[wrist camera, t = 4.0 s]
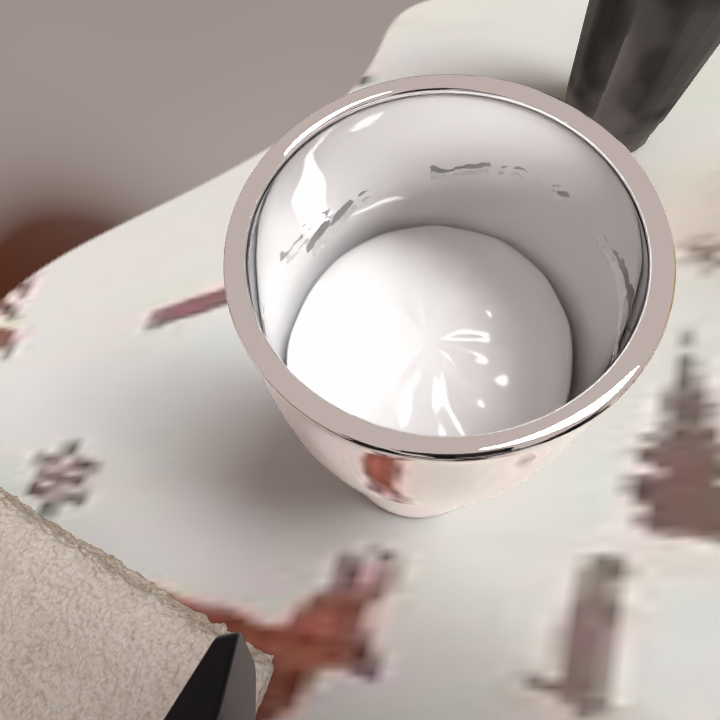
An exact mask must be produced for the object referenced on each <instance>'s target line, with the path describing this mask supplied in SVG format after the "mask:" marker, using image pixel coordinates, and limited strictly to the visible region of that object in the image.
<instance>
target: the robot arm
mask: <svg viewBox="0 0 720 720" xmlns="http://www.w3.org/2000/svg"><path fill="white" fill-rule="evenodd" d="M163 720H256V669H255V664H254V660H253V658H252V655H251V653H250V651H249V648H248V646H247V644H246V641H245V639H244V637H243V635H242V634H241V633H240V632H232V633H227V634H222V635H219V636H217V637H216V638H215V639H214V640H213V642H212V643H211V645H210V646H209V648H208V650H207V651H206V653H205V654H204V656H203V657H202V659H201V661H200V662H199V664H198V665H197V667H196V669H195V670H194V672H193V673H192V675H191V677H190V678H189V680H188V681H187V683H186V684H185V686H184V688H183V689H182V691H181V692H180V694H179V696H178V697H177V699H176V700H175V702H174V703H173V705H172V707H171V708H170V710H169V711H168V713H167V715H166V716H165V718H164V719H163Z"/></svg>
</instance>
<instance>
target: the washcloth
mask: <svg viewBox="0 0 720 720" xmlns="http://www.w3.org/2000/svg"><path fill="white" fill-rule="evenodd" d="M221 625H222V626H221ZM227 633H231V632H229V631H228V632H227V627H226V625H225V623H221V624H218V623H211V622H210V621H209V620H208V617H207V616H206V615H205V614H203V613H199V612H196V611H194V610H192V609H191V608H189V607H188V606H185V605H183V604H182V603H181V602H179V601H176V600H175V599H173V598H172V597H170V595H168V593H167V592H165V590H158V589H157V588H156V586H155V584H154V583H150V582H148V581H147V580H146V579H145V578H144V577H143V576H142V575H141V574H139V573H138V572H134V571H132V570H130V569H128V568H126V567H125V566H124V565H123V563H122V562H121V561H120V560H118V559H116V558H115V557H114V556H112V555H107V554H106V553H103V551H102V550H101V549H98V548H95V547H93V546H92V545H91V544H88V543H86V542H83V540H76V539H75V538H74V537H73V536H72V534H70V533H69V532H67V531H65V530H63V529H62V528H61V527H60V526H59V525H58V524H57V523H54V522H51V521H48V520H46V519H44V518H42V517H41V516H40V515H39V514H38V513H36V512H35V511H33V510H32V509H31V508H30V507H29V506H28V505H25V504H23V503H22V502H21V501H20V500H19V499H18V497H17V496H13V495H11V494H9V493H8V492H5V491H4V490H2V488H1V487H0V720H163V719H164V718H165V716H166V715H167V713H168V711H169V710H170V708H171V707H172V705H173V703H174V702H175V700H176V699H177V697H178V696H179V694H180V692H181V691H182V689H183V688H184V686H185V684H186V683H187V681H188V680H189V678H190V677H191V675H192V673H193V672H194V670H195V669H196V667H197V665H198V664H199V662H200V661H201V659H202V657H203V656H204V654H205V653H206V651H207V650H208V648H209V646H210V645H211V643H212V642H213V640H214V639H215V638H216V637H217V636H219V635H222V634H227ZM246 644H247V646H248V648H249V651H250V653H251V655H252V658H253V660H254V664H255V669H256V713H257V710H258V707H259V706H260V704H261V702H262V700H263V696H264V694H265V692H266V690H267V687H268V684H269V681H270V679H271V676H272V673H273V670H274V667H273V664H272V660H273V657H274V655H269V654H266V653H262V651H261V650H259V649H256V648H254V647H253V645H251V644H250V643H248V642H246Z"/></svg>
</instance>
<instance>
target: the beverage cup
mask: <svg viewBox="0 0 720 720" xmlns="http://www.w3.org/2000/svg"><path fill="white" fill-rule="evenodd" d="M719 44H720V0H589V3H588V7H587V11H586V15H585V19H584V23H583V27H582V31H581V35H580V39H579V43H578V47H577V51H576V55H575V59H574V63H573V67H572V71H571V75H570V79H569V83H568V88H567V94H566V103H568V104H569V105H571V106H573V107H575V108H577V109H578V110H580V111H582V112H583V113H585V114H586V115H588V116H589V117H591V118H592V119H594V120H595V121H596V122H598V123H599V124H600V125H602V126H603V127H604V128H605V129H607V130H608V131H609V132H610V133H611V134H612V135H614V136H615V137H616V138H617V139H618V140H619V141H620V142H621V143H622V144H623V145H624V146H625V147H626V148H627V149H628V150H629V152H632V151H635V150H637V149H638V148H639V147H640V146H642V145H643V144H644V143H645V142H646V140H647V139H648V137H649V135H650V134H651V133H652V132H653V131H654V130H655V128H656V127H657V126H658V125H659V123H661V122H662V121H663V120H664V119H665V117H666V116H667V115H668V113H669V112H670V111H671V109H672V108H673V106H674V105H675V104H676V102H677V101H678V100H679V98H680V97H681V96H682V94H683V93H684V91H685V90H686V89H687V87H688V86H689V85H690V83H691V82H692V81H693V79H694V78H695V77H696V75H697V74H698V72H699V71H700V70H701V68H702V67H703V66H704V64H705V63H706V62H707V60H708V59H709V57H710V56H711V55H712V53H713V52H714V51H715V49H716V48H717V47H718V45H719Z"/></svg>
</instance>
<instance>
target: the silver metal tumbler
mask: <svg viewBox="0 0 720 720" xmlns="http://www.w3.org/2000/svg"><path fill="white" fill-rule="evenodd" d="M223 272H224V285H225V293H226V298H227V303H228V308H229V311H230V315H231V318H232V321H233V324H234V327H235V330H236V332H237V334H238V337H239V339H240V341H241V343H242V345H243V347H244V349H245V351H246V352H247V354H248V356H249V358H250V359H251V361H252V362H253V364H254V365H255V367H256V368H257V370H258V371H259V372H260V374H261V375H262V377H263V379H264V381H265V383H266V385H267V387H268V389H269V391H270V393H271V395H272V396H273V398H274V400H275V402H276V404H277V406H278V407H279V409H280V411H281V413H282V414H283V416H284V418H285V419H286V421H287V422H288V424H289V425H290V426H291V428H292V429H293V431H294V432H295V433H296V435H297V436H298V437H299V439H300V440H301V442H302V443H303V444H304V445H305V447H306V448H307V449H308V450H309V451H310V453H311V454H312V455H313V456H314V457H315V458H316V459H317V460H318V461H319V462H320V463H321V464H322V465H324V466H325V467H326V468H327V469H328V470H329V471H331V472H332V473H333V474H334V475H336V476H337V477H338V478H339V479H341V480H342V481H343V482H345V483H346V484H348V485H349V486H351V487H352V488H354V489H356V490H357V491H359V492H361V493H363V494H364V495H365V496H366V497H367V498H368V499H370V500H371V501H372V502H373V503H375V504H376V505H378V506H379V507H381V508H383V509H384V510H386V511H389V512H391V513H394V514H397V515H400V516H405V517H411V518H427V517H433V516H438V515H441V514H444V513H447V512H449V511H451V510H453V509H455V508H459V507H464V506H468V505H472V504H475V503H478V502H481V501H484V500H487V499H489V498H492V497H494V496H497V495H499V494H501V493H504V492H506V491H508V490H510V489H512V488H514V487H516V486H518V485H519V484H521V483H523V482H524V481H526V480H527V479H529V478H530V477H532V476H533V475H534V474H536V473H537V472H538V471H540V470H541V469H542V468H543V467H545V466H546V465H547V464H549V463H550V462H551V461H553V460H554V459H555V458H556V457H557V456H559V455H560V454H561V453H562V452H563V451H564V450H565V449H566V448H567V447H568V446H569V445H570V444H571V443H572V442H573V441H574V440H575V439H576V438H577V437H578V436H579V435H580V434H581V433H582V432H583V431H584V430H585V429H586V428H587V427H588V426H589V425H590V424H591V422H592V421H593V420H594V419H595V418H596V417H597V416H599V415H600V414H601V413H603V412H604V411H605V410H606V409H607V408H609V407H610V406H611V405H612V404H613V403H614V402H616V401H617V400H618V399H619V398H620V397H621V396H622V395H623V394H624V393H625V392H626V391H627V390H628V388H629V387H630V386H631V385H632V384H633V383H634V382H635V380H636V379H637V378H638V376H639V375H640V374H641V373H642V371H643V370H644V368H645V367H646V365H647V364H648V362H649V361H650V359H651V357H652V356H653V354H654V352H655V350H656V348H657V346H658V344H659V342H660V340H661V338H662V336H663V333H664V331H665V328H666V325H667V322H668V319H669V316H670V313H671V308H672V304H673V299H674V293H675V283H676V256H675V247H674V241H673V235H672V231H671V227H670V223H669V220H668V217H667V214H666V211H665V209H664V206H663V204H662V201H661V199H660V197H659V195H658V193H657V191H656V189H655V187H654V185H653V183H652V182H651V180H650V178H649V177H648V175H647V174H646V172H645V171H644V169H643V168H642V167H641V165H640V164H639V162H638V161H637V160H636V159H635V157H634V156H633V155H632V154H631V153H630V152H629V150H628V149H627V148H626V147H625V146H624V145H623V144H622V143H621V142H620V141H619V140H618V139H617V138H616V137H615V136H614V135H612V134H611V133H610V132H609V131H608V130H607V129H605V128H604V127H603V126H602V125H600V124H599V123H598V122H596V121H595V120H594V119H592V118H591V117H589V116H588V115H586V114H585V113H583V112H582V111H580V110H578V109H577V108H575V107H573V106H571V105H569V104H568V103H566V102H564V101H562V100H560V99H558V98H555V97H553V96H551V95H549V94H546V93H544V92H541V91H539V90H536V89H533V88H530V87H527V86H524V85H520V84H517V83H513V82H509V81H505V80H500V79H495V78H488V77H481V76H472V75H456V74H441V75H424V76H415V77H407V78H402V79H396V80H392V81H387V82H383V83H379V84H376V85H373V86H369V87H366V88H363V89H361V90H358V91H355V92H352V93H350V94H348V95H345V96H343V97H341V98H339V99H337V100H335V101H333V102H331V103H329V104H327V105H326V106H324V107H322V108H320V109H318V110H317V111H315V112H314V113H312V114H310V115H309V116H308V117H306V118H305V119H303V120H302V121H301V122H299V123H298V124H297V125H295V126H294V127H293V128H292V129H290V130H289V131H288V132H287V133H286V134H285V135H284V136H283V137H282V138H281V139H279V140H278V141H277V142H276V143H275V144H274V145H273V147H272V148H271V149H270V150H269V151H268V152H267V153H266V154H265V156H264V157H263V158H262V159H261V161H260V162H259V163H258V165H257V166H256V168H255V169H254V171H253V172H252V174H251V175H250V177H249V178H248V180H247V182H246V183H245V185H244V187H243V189H242V191H241V193H240V195H239V197H238V200H237V202H236V205H235V207H234V210H233V213H232V215H231V219H230V222H229V226H228V230H227V235H226V241H225V248H224V261H223Z"/></svg>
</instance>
